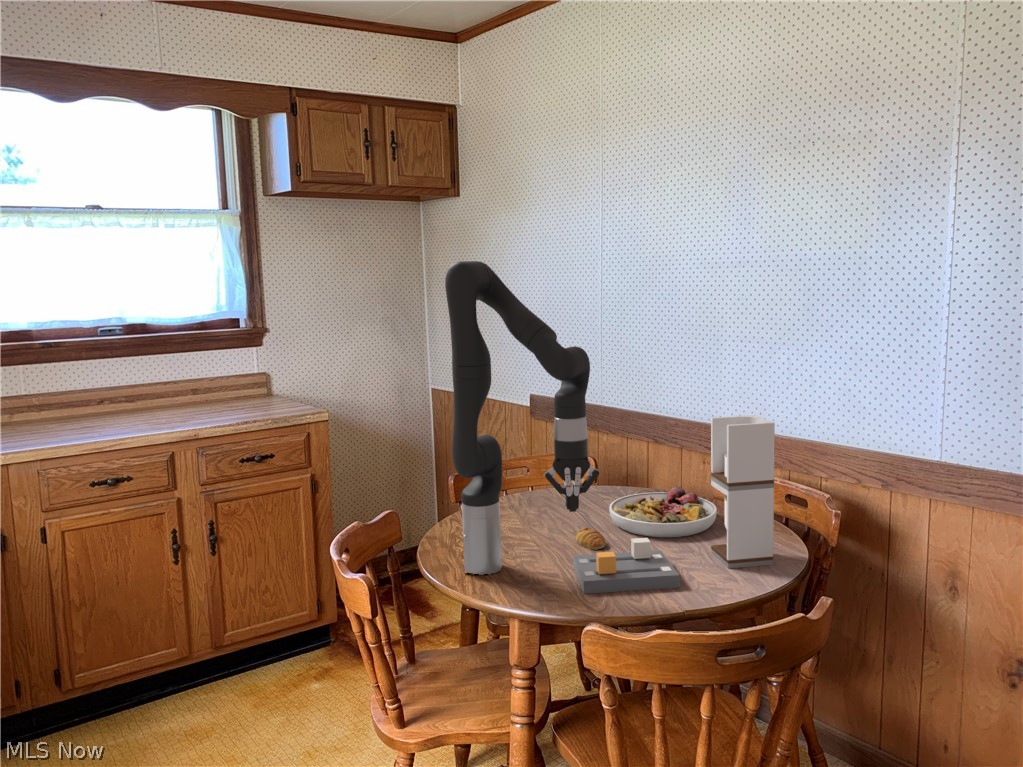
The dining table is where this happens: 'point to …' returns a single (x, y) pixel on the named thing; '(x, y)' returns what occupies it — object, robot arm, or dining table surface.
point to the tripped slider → (606, 562)
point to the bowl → (663, 513)
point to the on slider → (640, 548)
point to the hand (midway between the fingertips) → (572, 510)
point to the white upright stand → (744, 488)
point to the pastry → (590, 539)
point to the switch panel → (626, 573)
